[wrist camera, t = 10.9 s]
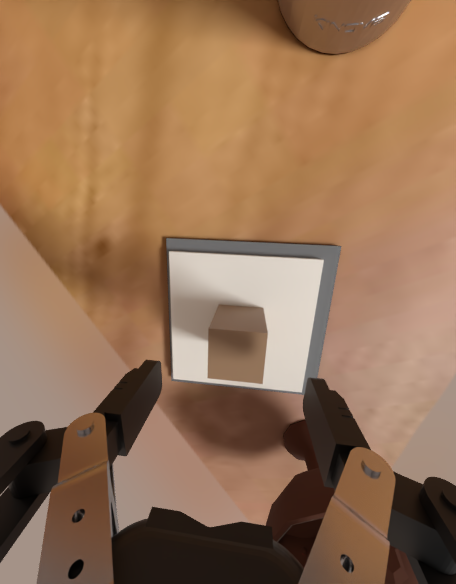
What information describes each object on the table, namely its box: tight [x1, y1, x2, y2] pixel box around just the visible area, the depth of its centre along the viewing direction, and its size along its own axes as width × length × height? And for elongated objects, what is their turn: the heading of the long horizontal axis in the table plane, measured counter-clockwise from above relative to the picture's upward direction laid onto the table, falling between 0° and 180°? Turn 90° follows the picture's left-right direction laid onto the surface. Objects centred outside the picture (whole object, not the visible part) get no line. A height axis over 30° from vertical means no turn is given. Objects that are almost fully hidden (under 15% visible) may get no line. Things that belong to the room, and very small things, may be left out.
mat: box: [166, 238, 341, 395], centre depth 21 cm, size 15×15×1 cm
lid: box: [169, 251, 324, 393], centre depth 18 cm, size 13×13×6 cm
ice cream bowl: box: [266, 420, 419, 584], centre depth 17 cm, size 11×11×15 cm
